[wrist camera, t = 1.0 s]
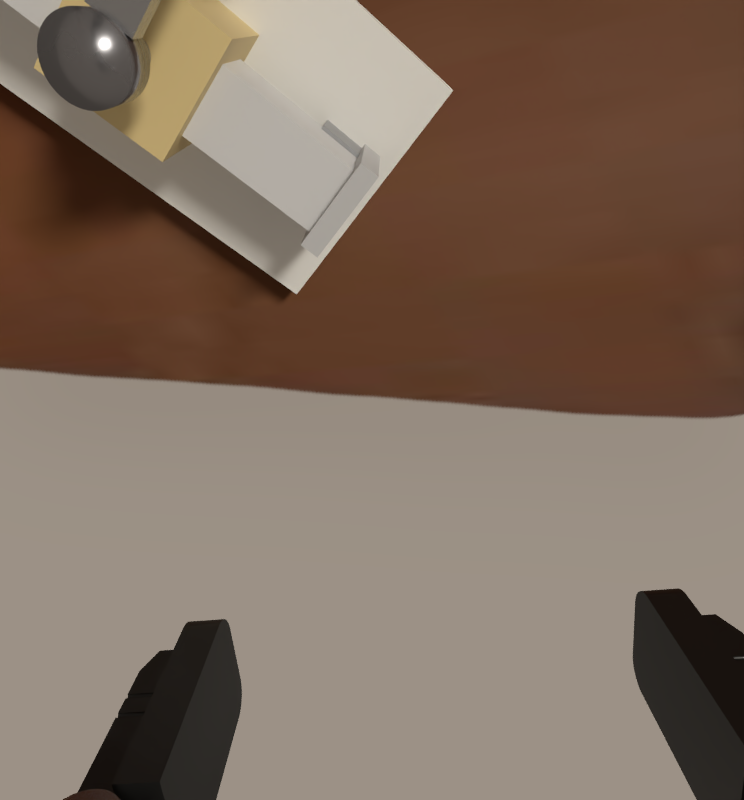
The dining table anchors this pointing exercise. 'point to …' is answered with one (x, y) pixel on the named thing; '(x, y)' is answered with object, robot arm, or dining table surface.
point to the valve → (250, 116)
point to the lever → (97, 52)
